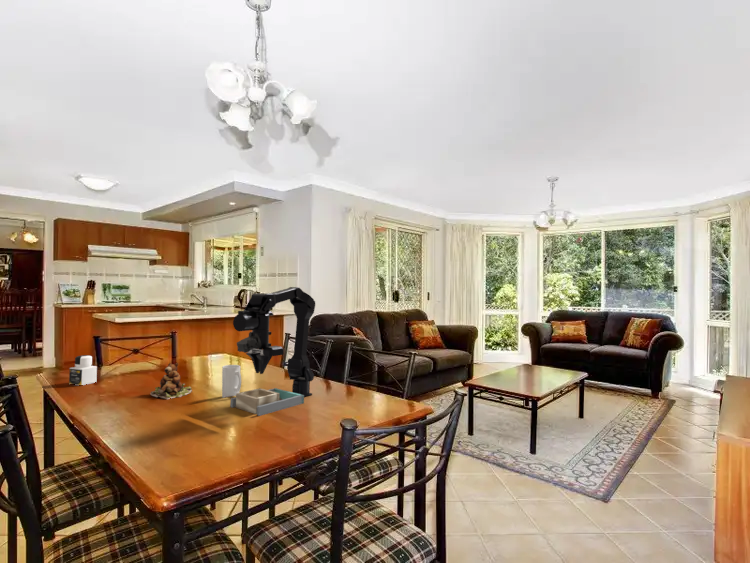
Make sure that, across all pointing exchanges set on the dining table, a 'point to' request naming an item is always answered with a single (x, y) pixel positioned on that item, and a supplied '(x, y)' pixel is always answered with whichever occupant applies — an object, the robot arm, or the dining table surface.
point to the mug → (231, 380)
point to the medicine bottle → (83, 371)
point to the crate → (255, 399)
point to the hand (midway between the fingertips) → (259, 373)
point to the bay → (277, 402)
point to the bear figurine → (171, 384)
